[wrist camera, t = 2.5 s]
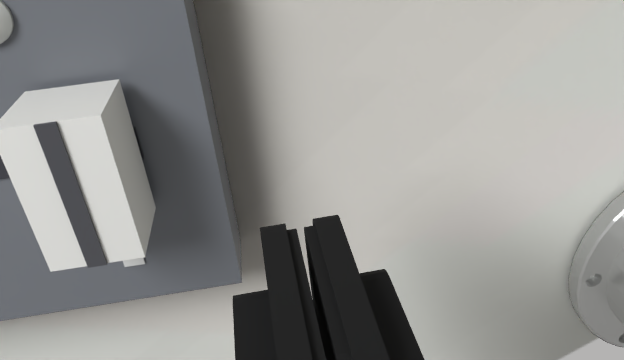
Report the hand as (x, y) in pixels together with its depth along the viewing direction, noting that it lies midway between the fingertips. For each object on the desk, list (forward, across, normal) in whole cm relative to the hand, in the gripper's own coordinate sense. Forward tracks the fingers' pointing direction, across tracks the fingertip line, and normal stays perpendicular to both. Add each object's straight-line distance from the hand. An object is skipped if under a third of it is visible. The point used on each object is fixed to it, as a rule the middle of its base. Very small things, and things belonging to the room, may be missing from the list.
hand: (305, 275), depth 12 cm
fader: (+9, +6, +1) cm, 11 cm away
